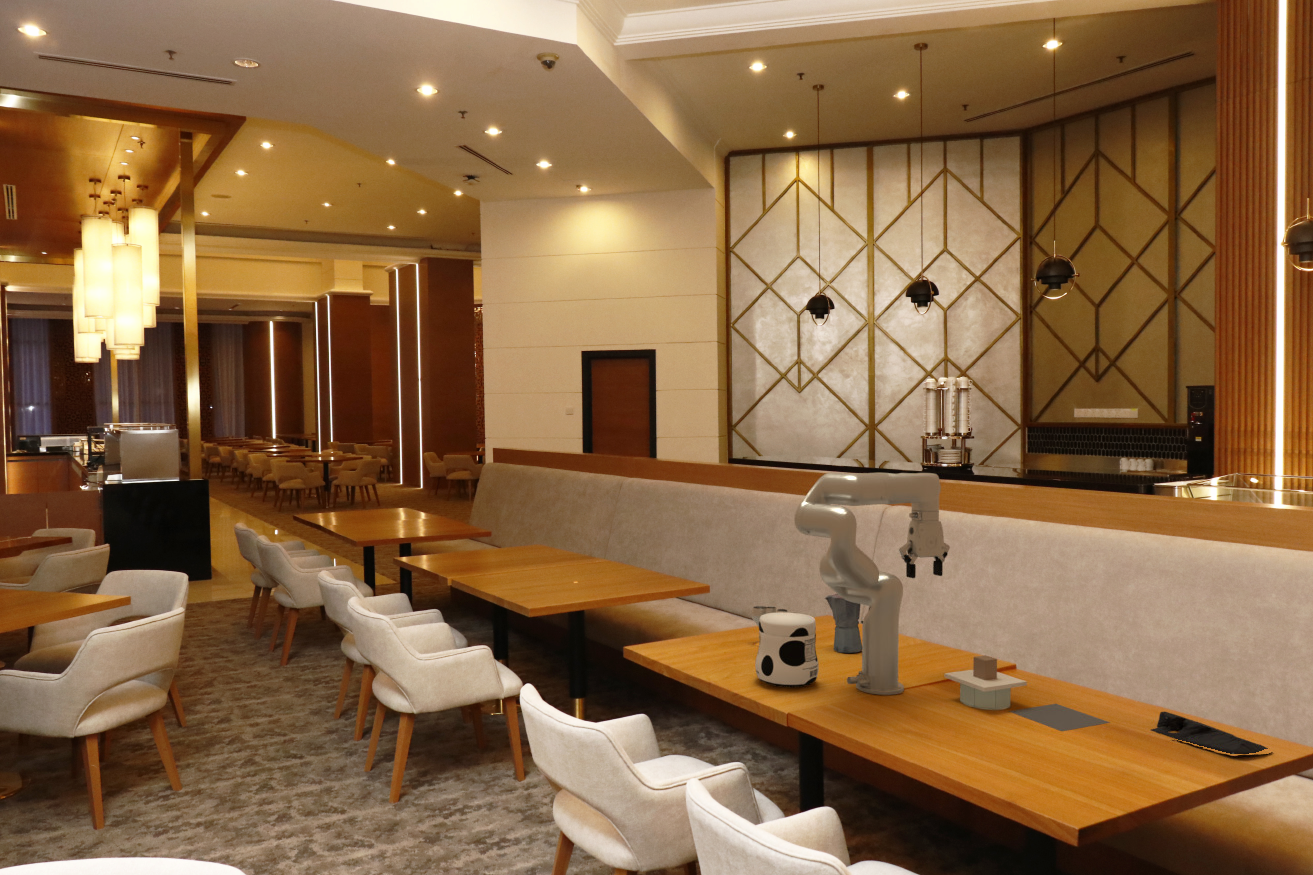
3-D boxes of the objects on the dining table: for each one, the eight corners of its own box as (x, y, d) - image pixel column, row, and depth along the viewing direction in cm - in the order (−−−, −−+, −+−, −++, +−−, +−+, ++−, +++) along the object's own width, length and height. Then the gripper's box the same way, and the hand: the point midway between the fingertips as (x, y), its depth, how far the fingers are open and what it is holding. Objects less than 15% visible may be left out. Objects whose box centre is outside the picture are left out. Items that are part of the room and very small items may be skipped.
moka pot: (823, 645, 296) (824, 583, 296) (872, 647, 294) (873, 585, 294) (824, 653, 287) (825, 589, 287) (875, 655, 285) (876, 590, 284)
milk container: (752, 673, 263) (753, 610, 262) (813, 674, 262) (814, 611, 262) (757, 691, 245) (758, 624, 245) (822, 692, 245) (823, 625, 245)
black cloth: (1229, 764, 196) (1230, 742, 196) (1142, 732, 217) (1143, 711, 216) (1280, 756, 201) (1280, 734, 201) (1190, 725, 222) (1190, 705, 222)
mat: (1061, 733, 213) (1061, 731, 213) (1009, 713, 228) (1009, 711, 228) (1110, 724, 220) (1110, 722, 220) (1055, 705, 235) (1055, 703, 235)
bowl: (984, 714, 227) (985, 690, 227) (950, 700, 238) (950, 677, 238) (1020, 708, 232) (1021, 684, 232) (985, 695, 243) (985, 672, 243)
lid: (984, 691, 226) (984, 667, 226) (944, 677, 239) (944, 654, 238) (1026, 685, 232) (1026, 661, 232) (985, 671, 244) (985, 649, 244)
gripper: (909, 518, 254) (908, 580, 255) (958, 516, 262) (957, 576, 262) (892, 516, 261) (891, 576, 262) (939, 514, 268) (939, 572, 269)
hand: (924, 576), depth 262 cm, fingers open, 9 cm apart
